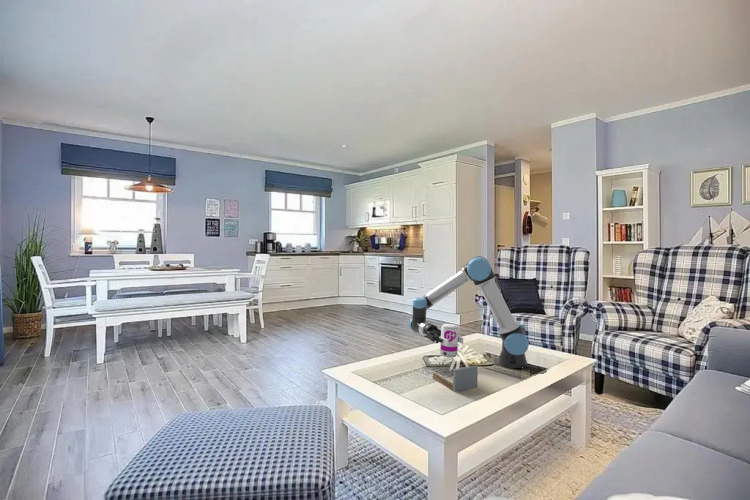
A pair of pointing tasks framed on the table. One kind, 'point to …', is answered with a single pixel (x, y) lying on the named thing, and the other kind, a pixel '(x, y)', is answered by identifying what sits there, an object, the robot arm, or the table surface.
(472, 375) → the block
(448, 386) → the channel
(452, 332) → the supplement can
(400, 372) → the table surface
